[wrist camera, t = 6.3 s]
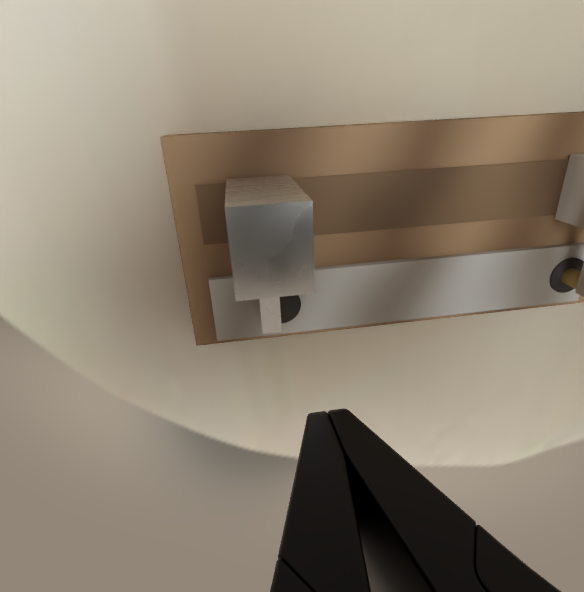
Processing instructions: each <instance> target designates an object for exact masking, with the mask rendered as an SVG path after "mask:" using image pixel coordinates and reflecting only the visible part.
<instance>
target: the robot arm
mask: <svg viewBox="0 0 584 592" xmlns="http://www.w3.org/2000/svg"><path fill="white" fill-rule="evenodd" d="M270 592H561V591H559V590H558V589H557V588H556V587H554V586H553V585H552V584H550V583H549V582H548V581H547V580H545V579H544V578H543V577H541V576H540V575H539V574H537V573H536V572H535V571H534V570H532V569H531V568H530V567H528V566H527V565H526V564H525V563H523V562H522V561H521V560H520V559H519V558H518V557H517V556H515V555H514V554H513V553H512V552H511V551H509V550H508V549H507V548H506V547H505V546H503V545H502V544H501V543H500V542H499V541H497V540H496V539H495V538H494V537H493V536H492V535H491V534H489V533H488V532H487V531H486V530H485V529H484V528H483V527H481V526H480V525H476V522H475V521H474V520H473V519H472V518H471V517H470V516H469V515H467V514H466V513H465V512H464V511H463V510H462V509H461V508H460V507H458V506H457V505H456V504H455V503H454V502H452V501H451V500H450V499H449V498H448V497H447V496H445V494H443V493H442V492H441V491H440V490H439V489H438V488H436V487H435V486H434V485H433V484H432V483H431V482H430V481H429V480H428V479H426V478H425V477H424V476H423V475H422V474H421V473H420V472H418V471H417V470H416V469H415V468H414V467H413V466H412V465H410V464H409V463H408V462H407V461H406V460H405V459H404V458H402V457H401V456H400V455H399V454H398V453H397V452H396V451H394V450H393V449H392V448H391V447H390V446H389V445H388V444H386V443H385V442H384V441H383V440H382V439H381V438H380V437H378V436H377V435H376V434H375V433H374V432H373V431H372V430H370V429H369V428H368V427H367V426H366V425H365V424H364V423H362V422H361V421H360V420H359V419H358V418H357V417H356V416H354V415H353V414H352V413H351V412H350V411H349V410H347V409H337V410H330V411H329V412H328V413H327V412H325V411H322V412H315V413H310V414H308V416H307V421H306V425H305V430H304V435H303V440H302V444H301V449H300V454H299V459H298V464H297V469H296V473H295V478H294V483H293V487H292V492H291V497H290V502H289V507H288V511H287V516H286V521H285V525H284V530H283V536H282V540H281V545H280V549H279V555H278V560H277V562H276V567H275V572H274V577H273V582H272V586H271V590H270Z"/></svg>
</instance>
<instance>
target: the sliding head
mask: <svg viewBox="0 0 584 592" xmlns="http://www.w3.org/2000/svg"><path fill="white" fill-rule="evenodd" d="M225 215H226V224H227V232H228V241H229V249H230V258H231V266H232V274H233V283H234V291H235V300H236V301H244V300H254V299H259V304H260V316H261V326H262V333H263V334H266V333H275V332H282V326H281V311H280V297H283V296H293V295H303V294H313V293H315V278H314V237H313V201H312V200H311V198H310V197H309V196H308V195H307V194H306V193H305V192H304V191H303V190H302V189H301V188H300V187H299V186H298V184H297V183H296V182H295V181H294V180H293V179H292V178H291V177H290V176H289V175H281V176H266V177H252V178H237V179H226V193H225Z"/></svg>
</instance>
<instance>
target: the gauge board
mask: <svg viewBox="0 0 584 592" xmlns="http://www.w3.org/2000/svg"><path fill="white" fill-rule="evenodd" d="M160 138H161V144H162V149H163V155H164V161H165V167H166V172H167V178H168V184H169V190H170V195H171V201H172V207H173V213H174V218H175V224H176V230H177V235H178V241H179V247H180V253H181V258H182V264H183V270H184V276H185V281H186V287H187V293H188V299H189V304H190V310H191V316H192V322H193V327H194V333H195V339H196V345H197V346H198V345H207V344H215V343H224V342H233V341H242V340H251V339H260V338H269V337H278V336H287V335H296V334H305V333H313V332H322V331H331V330H340V329H349V328H358V327H367V326H376V325H385V324H394V323H403V322H411V321H420V320H429V319H438V318H447V317H456V316H465V315H474V314H483V313H492V312H501V311H509V310H518V309H527V308H536V307H545V306H554V305H563V304H572V303H581V302H584V112H568V113H550V114H533V115H515V116H497V117H480V118H462V119H444V120H427V121H409V122H391V123H373V124H356V125H338V126H320V127H303V128H285V129H267V130H250V131H232V132H214V133H197V134H179V135H165V136H162V137H160ZM281 175H289V176H290V177H291V178H292V179H293V180H294V181H295V182H296V183H297V184H298V186H299V187H300V188H301V189H302V190H303V191H304V192H305V193H306V194H307V195H308V196H309V197H310V198H311V200H312V201H313V237H314V278H315V293H313V294H303V295H293V296H283V297H280V311H281V326H282V332H275V333H266V334H263V333H262V326H261V316H260V304H259V299H254V300H244V301H236V300H235V291H234V283H233V274H232V266H231V258H230V249H229V241H228V232H227V224H226V215H225V193H226V179H237V178H252V177H266V176H281Z"/></svg>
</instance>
